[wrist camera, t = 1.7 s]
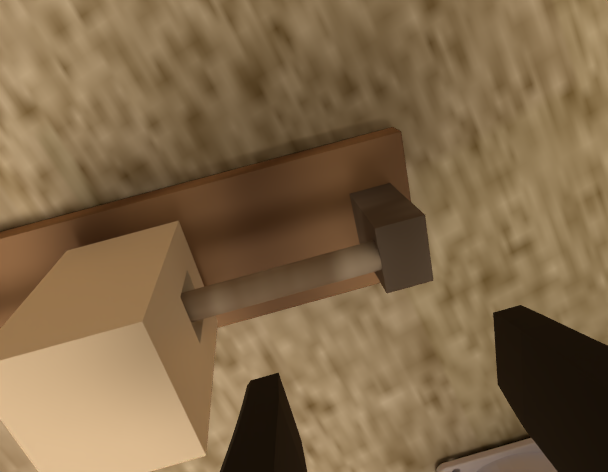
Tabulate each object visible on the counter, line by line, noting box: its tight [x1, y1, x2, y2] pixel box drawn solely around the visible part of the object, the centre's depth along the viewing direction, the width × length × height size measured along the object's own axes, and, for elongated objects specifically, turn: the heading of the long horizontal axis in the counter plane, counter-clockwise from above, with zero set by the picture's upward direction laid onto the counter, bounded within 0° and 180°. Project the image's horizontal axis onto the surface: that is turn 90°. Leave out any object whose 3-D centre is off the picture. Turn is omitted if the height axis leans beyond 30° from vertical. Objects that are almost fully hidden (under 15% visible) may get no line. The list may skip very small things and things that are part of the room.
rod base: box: [0, 127, 433, 328], centre depth 15 cm, size 24×6×6 cm, turn 103°
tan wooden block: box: [0, 221, 218, 472], centre depth 13 cm, size 4×4×6 cm
